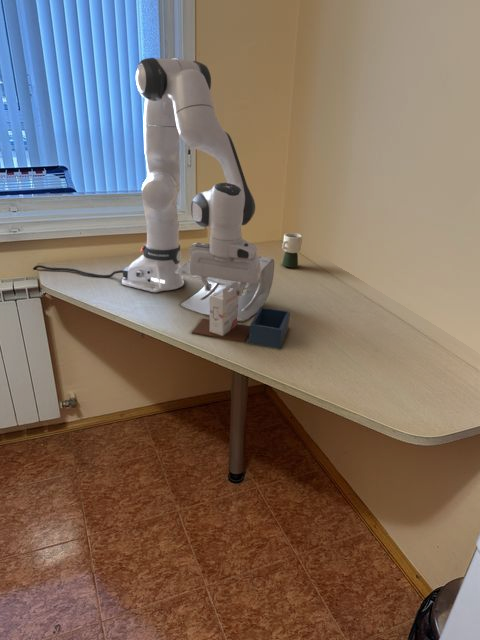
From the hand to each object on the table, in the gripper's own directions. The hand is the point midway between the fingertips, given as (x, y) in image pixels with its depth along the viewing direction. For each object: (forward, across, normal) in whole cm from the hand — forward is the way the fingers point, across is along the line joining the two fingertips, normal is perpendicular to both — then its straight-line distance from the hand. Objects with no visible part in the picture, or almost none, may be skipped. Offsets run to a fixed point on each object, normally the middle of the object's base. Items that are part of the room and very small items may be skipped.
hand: (223, 292), depth 140 cm
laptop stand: (+12, -5, +20) cm, 24 cm away
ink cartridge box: (+12, 0, 0) cm, 12 cm away
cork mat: (+12, 0, 0) cm, 12 cm away
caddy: (+12, +14, +2) cm, 19 cm away
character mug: (+12, +9, +65) cm, 66 cm away
